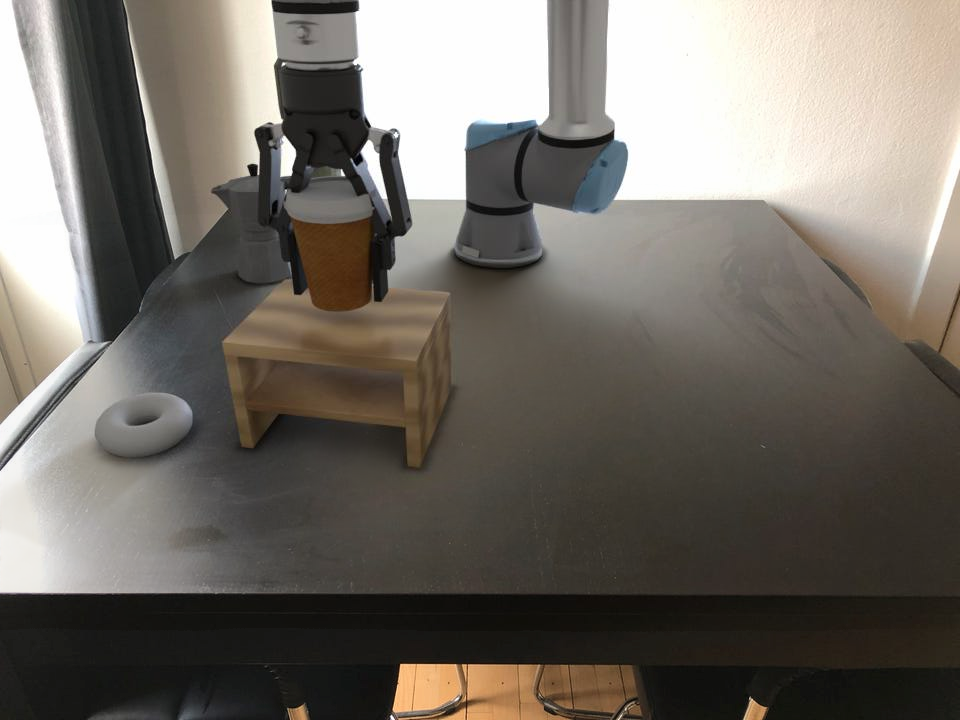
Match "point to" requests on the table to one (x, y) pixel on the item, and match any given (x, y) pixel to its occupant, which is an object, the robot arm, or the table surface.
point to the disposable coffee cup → (334, 242)
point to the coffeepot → (254, 229)
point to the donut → (131, 440)
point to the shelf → (343, 363)
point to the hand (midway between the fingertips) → (341, 292)
